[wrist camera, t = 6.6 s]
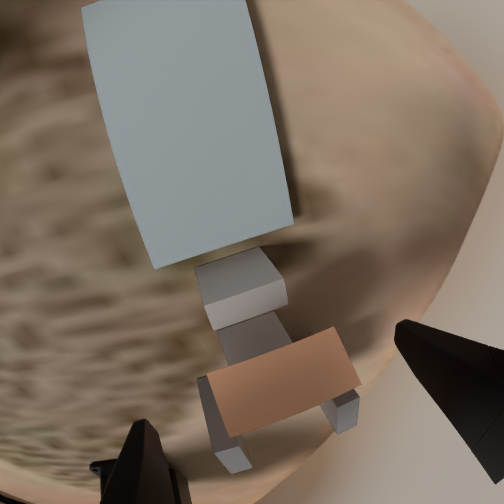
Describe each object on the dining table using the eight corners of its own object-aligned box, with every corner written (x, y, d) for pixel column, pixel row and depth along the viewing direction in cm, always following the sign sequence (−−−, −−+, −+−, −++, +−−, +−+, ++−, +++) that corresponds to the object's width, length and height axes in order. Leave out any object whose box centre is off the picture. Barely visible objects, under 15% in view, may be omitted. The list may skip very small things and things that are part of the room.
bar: (235, 399, 17) (247, 429, 16) (206, 373, 8) (229, 437, 7) (298, 376, 17) (310, 405, 16) (333, 325, 9) (361, 384, 8)
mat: (154, 261, 13) (154, 269, 12) (85, 14, 8) (80, 7, 7) (286, 218, 13) (293, 224, 13) (232, -21, 8) (237, -29, 8)
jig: (216, 413, 18) (235, 478, 13) (149, 282, 13) (149, 361, 8) (320, 375, 19) (355, 431, 14) (302, 232, 14) (363, 284, 10)
